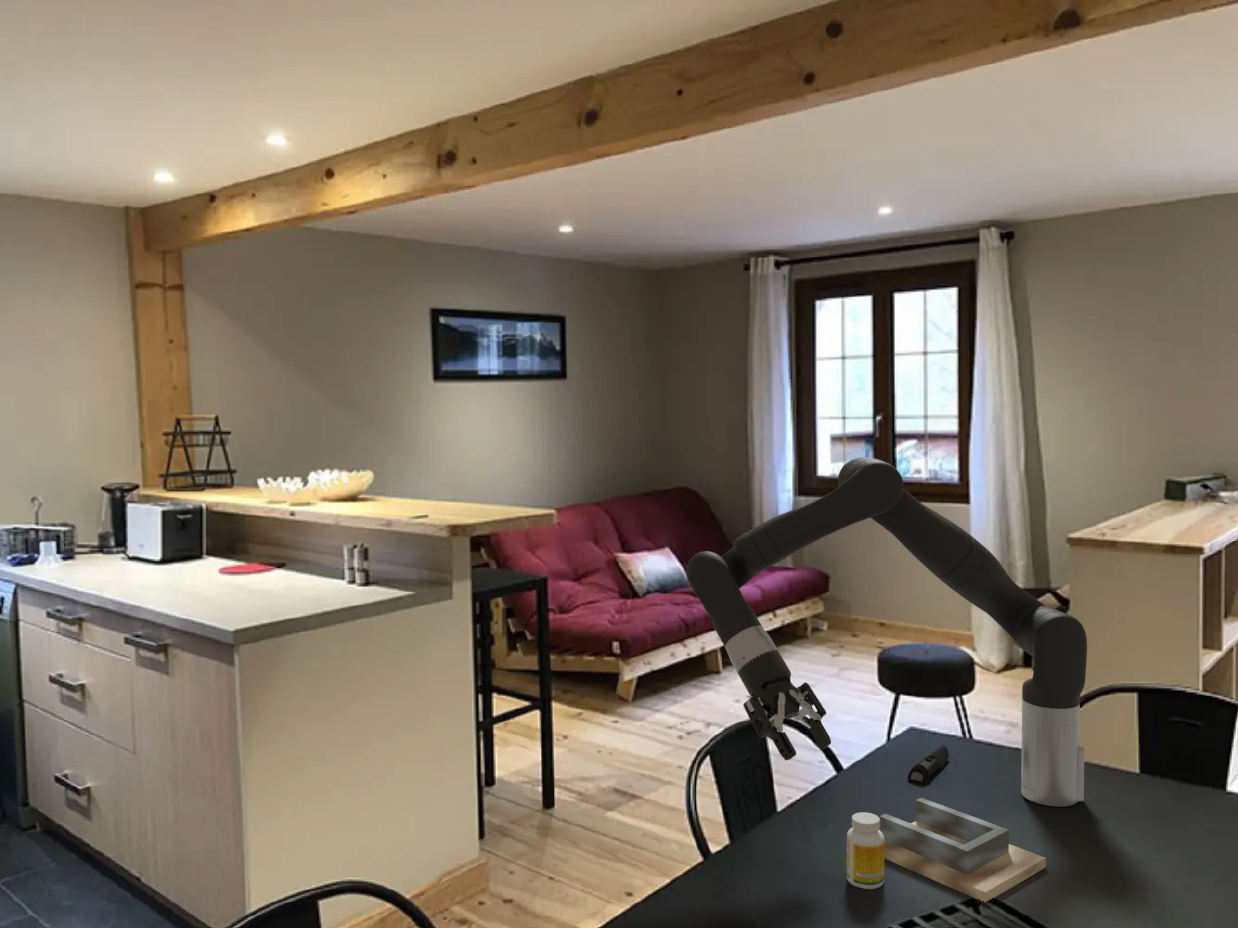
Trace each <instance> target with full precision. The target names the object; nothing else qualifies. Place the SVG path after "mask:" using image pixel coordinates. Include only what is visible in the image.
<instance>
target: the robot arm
mask: <svg viewBox="0 0 1238 928" xmlns="http://www.w3.org/2000/svg"><path fill="white" fill-rule="evenodd" d="M838 472H839V473H838V476H837V486H838V487H836V488H835V489H834V490H832V491H830V492H828V493H827V494H826V495H824V496H822V497H820V498H818V499H816V500H814V501H813V502H811V503H808V504H805V505H803V506H800V507H797V508H795V509H792V510H789V511H787V512H784V513H781V514H778V515H777V516H773V517H772V518H770V519H768V520H765V521H764V522H762V523H761V524H759V525H757V526H755V527H753V528H752V529H750V530H747V532H745V533H743V534H741V535H740V536H738V537H737V538H736V539H735V541H734V543H733V546H732V548H730V549H729V550H728V551H726V552H725V553H724V554H722V555H721V556H720V555H719V554H717V553H715V552H712V551H707V550H705V551H700V552H697V553H696V554H694V555H692V557H691V558H690V560H688V562H687V565H686V571H685V573H686V578H687V581H688V583H689V586H690V587H691V588H692V591H693V592H694V594H695V595H696V596H697V598H698V600H699V601H700V603H701V604H702V606H703V607H704V609H705V611H706V613H707V614H708V616H709V617H710V621H711V623H712V625H713V628H714V630H715V632H716V634H717V635H718V638H719V639H720V641H721V643H722V644H723V647H724V648H725V650H726V653H727V655H728V657H729V660H730V662H731V664H732V666H733V668H734V669H735V670H736V671H735V672H736V673H737V675H738V677H739V678H740V680H741V682H742V684H743V686H744V687H745V689H746V691H747V692H748V694H749V696H750V698H748V699H747V700H746V701H745V702H744V703H743V709H744V710H745V713H746V714H747V716H748V719H750V722H751V725H752V726H753V728H754V730H755V733H757V734H756V735H757V736H758V738H761V739H762V738H764V737H766V738H768V739H769V740H772V743H773V744H774V745H775V747H776V749H777V751H778V752H779V755H780V757H782V758H783V759H784V761H790V760H791V759H793V758H794V757H795V756H796V755H797V750H796V749H795V748H794V747H795V746H794V745H793V744H792V742H791V740H790V738H789V736H788V735H787V733H786V731H784V720H785V719H787V720H789V719H793V720H795V721H796V722H801V723H803V724H804V725H805V726H806V727H808V731H809V732H810V734H811V736H812V737H813V739H814V741H815V743H816V744H817V746H818V748H819V749H820V750H823V749H826V748H827V747H828V746H831V744H832V739H831V736H830V735H829V733H828V731H827V730H826V728H825V726H824V725H823V723H822V719H823V718H824V717H825V716H826V715H827V710H826V709H825V708H824V706H823V705H822V703H821V702H820V700H819V698H818V696H817V695H816V693H815V692H814V691H813V689H812V688H811V686H810V684H809V683H808V682H803V683H802V684H801V685H800V686H797V687H796V686H795V685H794V684H793V683H792V681H791V677H792V672H791V670H790V668H789V666H788V665H787V663H786V661H785V660H784V658H783V656H782V655H781V653H780V651H779V649H778V648H777V646H776V645H775V643H774V641H773V639H772V638H771V636H770V635H769V633H768V632H767V631H766V630H765V629H764V627H763V625H762V623H761V622H760V620H759V618H758V616H757V615H756V613H755V612H754V610H753V609H752V607H751V606H750V604H749V603H748V602H747V600H746V599H745V597H744V595H743V594H742V592H741V588H742V587H743V586H745V585H746V584H747V583H749V582H750V581H751V580H752V579H754V577H755V576H757V575H758V574H760V573H761V572H762V571H765V570H767V569H769V568H770V567H771V568H772V567H773V566H774V565H776V564H778V563H779V562H781V561H783V560H785V559H786V558H788V557H790V556H792V555H793V554H795V553H797V552H799V551H800V550H802V549H804V548H806V547H807V546H809V545H811V544H814V543H815V542H816V541H818V540H821V539H823V538H825V537H826V536H829V535H831V534H833V533H836V532H838V531H839V530H842V529H844V528H847V527H849V526H852V525H854V524H856V523H859V522H862V521H865V520H867V519H871V520H873V521H874V522H875V523H877V524H878V525H880V526H881V527H882V528H884V529H886V530H887V531H888V532H889V533H890V534H892V536H894V537H895V538H896V540H898V541H899V542H900V543H901V545H903V547H904V548H905V549H906V550H907V551H908V552H909V553H910V554H912V556H914V557H915V559H916V560H918V561H919V562H920V563H921V564H922V565H923V566H924V567H925V568H926V569H928V571H930V572H931V573H932V574H933V575H934V576H935V577H936V578H938V580H940V581H941V582H942V583H943V584H945V585H946V586H947V587H949V588H950V589H951V590H952V591H954V592H955V593H956V594H958V595H959V596H961V597H962V598H963V599H965V600H966V601H968V602H969V603H970V604H972V605H973V606H975V607H977V608H978V609H980V610H982V611H983V612H984V613H985V614H986V615H988V616H989V617H991V618H992V620H994V621H995V622H996V623H997V624H998V625H999V626H1000V627H1001V628H1002V629H1003V630H1004V632H1006V633H1007V634H1008V635H1009V636H1010V637H1011V639H1012V640H1013V641H1014V642H1015V643H1016V644H1017V646H1019V647H1020V649H1022V650H1023V651H1024V652H1025V653H1027V654H1028V655H1030V656H1031V657H1033V673H1032V677H1031V678H1029V679H1025V681H1024V682H1023V683H1022V688H1021V689H1022V690H1021V763H1020V765H1021V770H1020V774H1021V778H1020V780H1021V781H1020V785H1021V790H1020V791H1021V793H1020V794H1021V795H1022V796H1023V798H1025V799H1027V800H1029V801H1030V802H1033V803H1036V804H1039V805H1043V806H1049V807H1070V806H1073V805H1076V804H1077V803H1078V802H1084V800H1085V799H1084V798H1085V797H1084V794H1085V789H1084V788H1085V748H1084V747H1083V745H1081V744H1080V707H1081V706H1080V705H1081V704H1080V701H1081V700H1080V699H1081V694H1082V692H1083V690H1084V688H1085V685H1086V684H1085V683H1086V677H1087V675H1086V674H1087V673H1086V672H1087V659H1088V638H1087V633H1086V630H1085V628H1084V625H1083V624H1082V623H1081V622H1080V621H1079V620H1078V619H1077V618H1076V617H1074V616H1072V615H1070V614H1068V613H1065V612H1063V611H1060V610H1058V609H1055V608H1054V607H1051V606H1049V605H1047V604H1045V603H1044V602H1041V601H1040V600H1038V599H1037V598H1035V597H1034V596H1033V595H1031V594H1029V593H1028V592H1027V591H1026V590H1024V589H1022V587H1020V586H1019V585H1018V584H1017V583H1016V582H1015V581H1014V580H1013V579H1012V578H1011V577H1010V575H1009V574H1008V573H1007V571H1006V570H1005V568H1004V566H1003V565H1002V564H1001V562H1000V560H999V559H997V557H996V556H995V555H994V554H993V553H992V552H991V551H990V550H989V548H987V547H986V546H984V545H983V543H981V542H980V541H979V540H978V539H976V538H975V537H973V535H971V534H970V533H968V532H967V531H966V530H964V529H963V528H961V527H960V526H959V525H957V524H956V523H954V522H953V521H951V520H950V519H948V518H947V517H945V516H943V515H941V514H940V513H938V512H937V511H935V510H934V509H931V508H929V507H928V506H926V505H925V504H923V503H922V502H920V501H919V500H917V499H916V498H915V497H914V496H913V495H912V494H911V493H910V492H909V491H908V490H906V489H905V488H904V486H905V484H904V480H903V476H902V474H901V473H900V472H899V470H898V469H897V468H896V467H895V466H893V465H892V464H890V463H888V462H886V461H884V460H881V459H878V458H873V457H866V456H863V457H857V458H853V459H851V460H849V461H847V462H846V463H845V464H844V465H843V466H842V467H841V468H840V471H838ZM813 706H814V707H815V709H816V710H814V708H813ZM800 708H801V709H800ZM807 716H809V717H807ZM761 723H762V724H761Z"/></svg>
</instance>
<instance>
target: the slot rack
mask: <svg viewBox="0 0 1238 928" xmlns="http://www.w3.org/2000/svg"><path fill="white" fill-rule="evenodd" d="M878 817H879V818H880V828H879V830H880V831H881V832H882V833H883V835H884V840H885V845H884V860H887V861H890V862H892V863H894V864H897V865H898V866H901V867H903V868H905V869H908V870H910V871H912V872H915V873H917V874H919V875H921V876H924V877H926V878H929V879H931V880H933V881H934V882H937V883H940V884H941V885H944V886H947V887H949V888H951V889H953V890H955V891H958V892H959V893H962V894H964V895H967V896H969V897H971V898H972V899H973V898H974V899H976V900H978V899H979V900H978V901H980V900H981V902H983V901H984V902H983V903H985V902H986V903H987V901H988V900H989V901H991V900H993V899H995V898H996V897H998V896H999V895H1001V894H1003V893H1004V892H1007V891H1008V890H1009V889H1012V888H1014V887H1015V886H1017V885H1018V884H1020V883H1021V882H1023V881H1024V880H1027V879H1028V878H1030V877H1032V876H1033V875H1035V874H1037V873H1039V872H1040V871H1042V870H1043V869H1045V868H1046V864H1047V863H1046V861H1047V860H1046V857H1045V856H1041V855H1039V854H1036V853H1034V852H1031V851H1028V850H1026V849H1023V848H1021V847H1018V846H1015V845H1013V844H1010V843H1009V842H1010V830H1009V829H1008V828H1005V827H1002V826H1001V825H1000V826H999V825H997V824H994V823H991V822H989V821H986V820H983V819H981V818H978V817H975V816H972V815H970V814H968V813H964V812H962V811H959V810H956V809H953V808H951V807H948V806H946V805H943V804H939V803H937V802H934V801H932V800H929V799H926V798H924V797H920V798H918V799H916V800H915V821H913V822H908V821H906V820H905V821H904V820H902V819H900V818H898V817H896V816H892V815H891V814H887V813H884V814H881V815H880V816H878ZM992 898H993V899H992ZM990 899H991V900H990ZM989 901H988V902H989Z"/></svg>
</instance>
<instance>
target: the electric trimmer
mask: <svg viewBox="0 0 1238 928" xmlns="http://www.w3.org/2000/svg"><path fill="white" fill-rule="evenodd" d="M949 756H950V752H949V749H948V747H947V746H946V745H940V746H939V747H938V748H937V749H935V750H934V751H933V752H932V753H930V754H929V755H928V756H925V758H923V759H922V760H920V761H919V762H918V763H916V764H914V765H913V767H911V768H910V771H909V773H908V776H907V781H908V783H913V784H916V785H922V786H924V785H927V784H928V783H929V780H930V777H931V775H933V774H934V772H935V771H940V770H942V769H943V767H945V765H946V763H947V761H948V760H949V758H950V757H949Z"/></svg>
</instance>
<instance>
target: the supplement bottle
mask: <svg viewBox="0 0 1238 928" xmlns="http://www.w3.org/2000/svg"><path fill="white" fill-rule="evenodd" d="M851 826H852V827H851V828H849V829H848V831H847V833H846V879H847V881H848V882H849V884H851V886H853V887H857V888H860V889H863V890H874V889H878V888H880V887H881V886H883V884H884V882H885V858H884V845H885V840H884V835H883V833H882V832H881V831H880V830H879V828H880V818H879V816H878V815H877V814H874V813H871V812H864V811H863V812H856V813H854V814H852V816H851Z"/></svg>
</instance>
